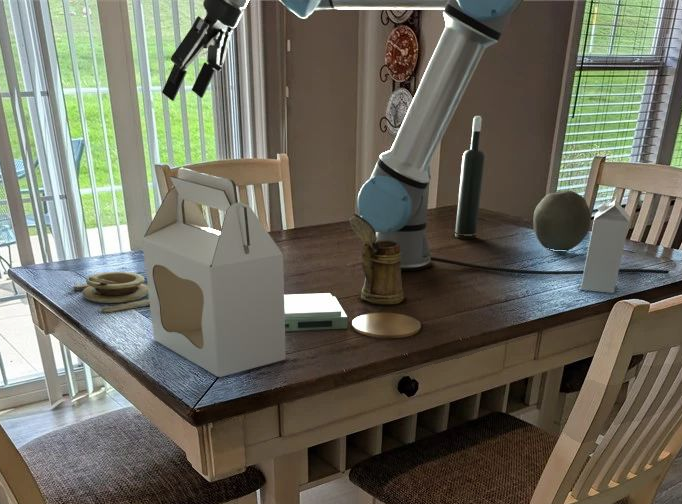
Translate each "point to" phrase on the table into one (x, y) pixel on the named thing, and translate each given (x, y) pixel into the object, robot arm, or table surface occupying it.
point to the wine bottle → (470, 185)
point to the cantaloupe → (561, 220)
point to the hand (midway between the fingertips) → (182, 95)
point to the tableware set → (115, 290)
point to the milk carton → (605, 248)
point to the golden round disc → (386, 325)
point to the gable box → (214, 279)
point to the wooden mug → (378, 265)
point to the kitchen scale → (313, 312)
